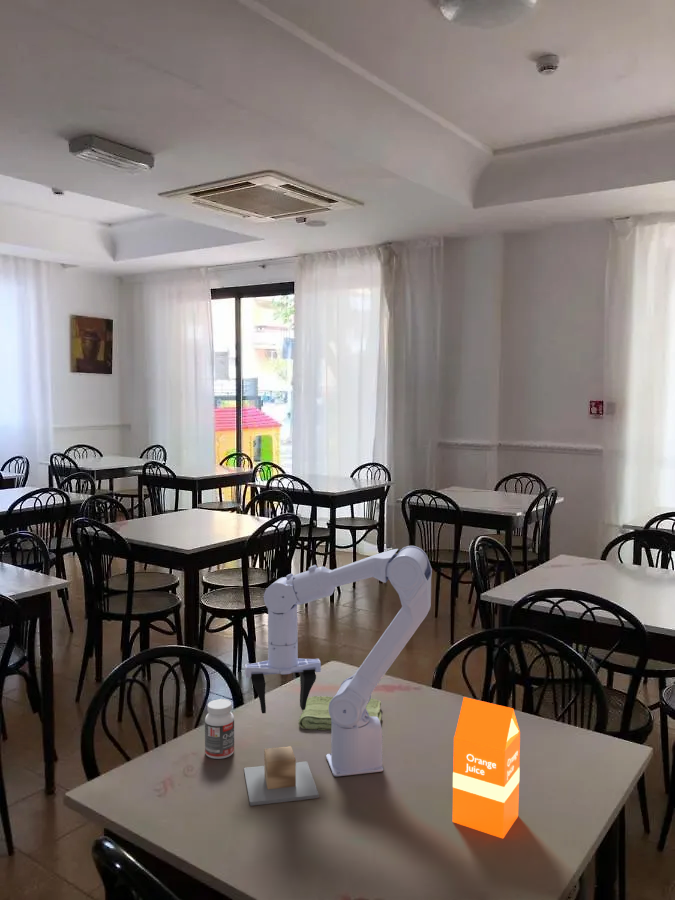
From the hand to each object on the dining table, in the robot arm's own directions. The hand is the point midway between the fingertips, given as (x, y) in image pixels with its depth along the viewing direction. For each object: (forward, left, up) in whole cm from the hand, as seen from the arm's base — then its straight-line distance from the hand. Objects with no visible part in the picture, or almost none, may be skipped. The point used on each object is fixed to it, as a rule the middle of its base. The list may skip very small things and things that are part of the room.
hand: (283, 709), depth 144 cm
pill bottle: (+12, -4, -10) cm, 16 cm away
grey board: (+2, +10, -9) cm, 14 cm away
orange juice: (-30, +28, -10) cm, 42 cm away
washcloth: (-15, -14, -10) cm, 23 cm away
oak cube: (+2, +10, -9) cm, 13 cm away
